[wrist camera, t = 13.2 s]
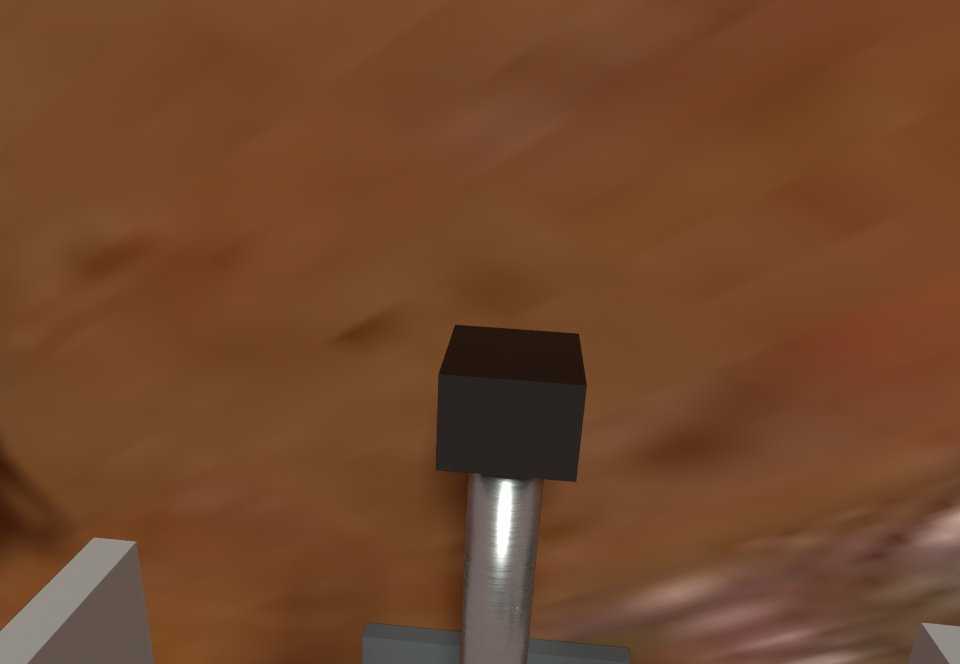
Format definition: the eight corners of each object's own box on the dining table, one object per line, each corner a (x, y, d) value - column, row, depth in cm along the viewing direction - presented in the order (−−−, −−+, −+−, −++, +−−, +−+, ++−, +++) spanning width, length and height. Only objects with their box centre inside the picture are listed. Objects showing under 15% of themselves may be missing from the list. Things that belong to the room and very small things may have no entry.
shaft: (455, 324, 23) (438, 374, 19) (578, 333, 22) (586, 385, 19) (437, 807, 30) (423, 910, 27) (528, 817, 30) (527, 922, 26)
